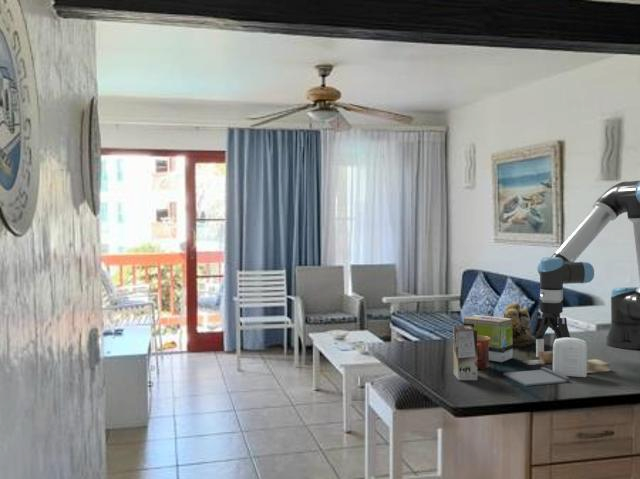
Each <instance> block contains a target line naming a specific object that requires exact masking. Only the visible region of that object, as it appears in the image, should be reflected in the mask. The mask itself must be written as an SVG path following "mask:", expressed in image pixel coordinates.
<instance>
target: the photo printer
mask: <svg viewBox="0 0 640 479" xmlns="http://www.w3.org/2000/svg"><path fill="white" fill-rule="evenodd" d="M552 351H553V363H552V371H554V372H557V373H559V374H561V375H564V376H566V377H573V378H574V377H575V378H576V377H577V378H587V375H588V373H587V360H588V346H587V342H586V341H585V340H583V339H580V338H576V337H570V338H569V337H566V338H559V339H557V338H555V339H554V341H553V344H552Z"/></svg>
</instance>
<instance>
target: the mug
mask: <svg viewBox="0 0 640 479" xmlns="http://www.w3.org/2000/svg"><path fill="white" fill-rule="evenodd" d="M490 341H491V338H490V337H488V336H482V335H477V370H485V369H487V368H489V363H490V360H489V344H490Z"/></svg>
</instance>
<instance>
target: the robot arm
mask: <svg viewBox="0 0 640 479" xmlns="http://www.w3.org/2000/svg"><path fill="white" fill-rule="evenodd" d="M592 208H593V209H591V211H590V212H589V213H588V214H587V215H586V217H585V218H584V219H583V220H582V221H581V222H580V223H579V225H578V226H577V227H576V228H575V229H574V230H573V232H572V233H570V234H569V236H567V238H566V239H565V241H564V242H563V243H562V244H561V245H560V246H559V247H558V248H557V250H555V252H554V253H553V254H552V255H551V256H550V257H542V258H541V259H540V261H539V262H538V265H537V272H538V275H539V289H540V290H539V300H540V301H539V311H538V312H536V319H535V322H534V325H533V328H532V330H531V337H534V338H535V351H536V352H535V357H536V358H539V352H544V351H545V339H544V335H545V334H546V332H547V330H548V328H550V329H551V330H552V331H553V332H554V335H555V337H556V339H559V338H566V337H569V338H571V335H570V331H569V328H568V324H567V320H568V319H567V318H566V317H561V313H563V311H564V310H563V309H564V307H563V306H564V304H563V302H562V301H563V300H564V285H565V284H566V285H567V284H587V283H590V282H592V281H593V279H594V277H595V269H594V266H593V265H592V264H591V263H590V262H587V261H578V262H577V261H576V260H577V259H579V257H580V256H581V255H582V253H583V252H584V251H585V250H586V249H587V248H588V247H589V246H590V244H592V242H593V241H594V240H595V239H596V238H597V237H598V235H599V234H600V233H601V232H602V231H603V230H604V229H605V227H606V226H608V224H609V222H611V221H615V220H616V219H617V218H618V217H619V216H620V215H622V214H624V213H627V220H629V221H630V222H631V223H632V225H633V234H634V243H635V244H634V245H635V250H636V251H635V253H636V261H637V262H636V263H637V271H638V278H639V282H640V180H632V181H622V182H618V183H617V184H615V185H612V186H611V187H610V188H608V189H607V190H606V191H605V192H604V193H603V194H602V195H601V196H600V197H599V198H598V199H596V201H595V202H594V203H593V205H592ZM610 311H611V312H610V318H611V320H610V321H611V322H610V328H609V329H608V330H609V331H608V334H607V336H606V340H605V344H607V345H608V346H610V347H615V348H618V349H625V350H626V349H627V350H628V349H629V350H640V285H639V286H636V287H634V286H631V287H615V288H612V290H611V297H610Z"/></svg>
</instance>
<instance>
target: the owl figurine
mask: <svg viewBox="0 0 640 479" xmlns="http://www.w3.org/2000/svg"><path fill="white" fill-rule="evenodd" d="M502 314H503V315H502V316H503V317H502V318H512V331H513V348H514V349H524V348H531V347H532V346H535V345H536V340H535V339H533V338H532V328H531V318H530V314H529V312H528V309H527V308H521V304H519V302H511V303H508V305H507V306H506V309H505V311H504V312H503V313H502Z"/></svg>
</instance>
